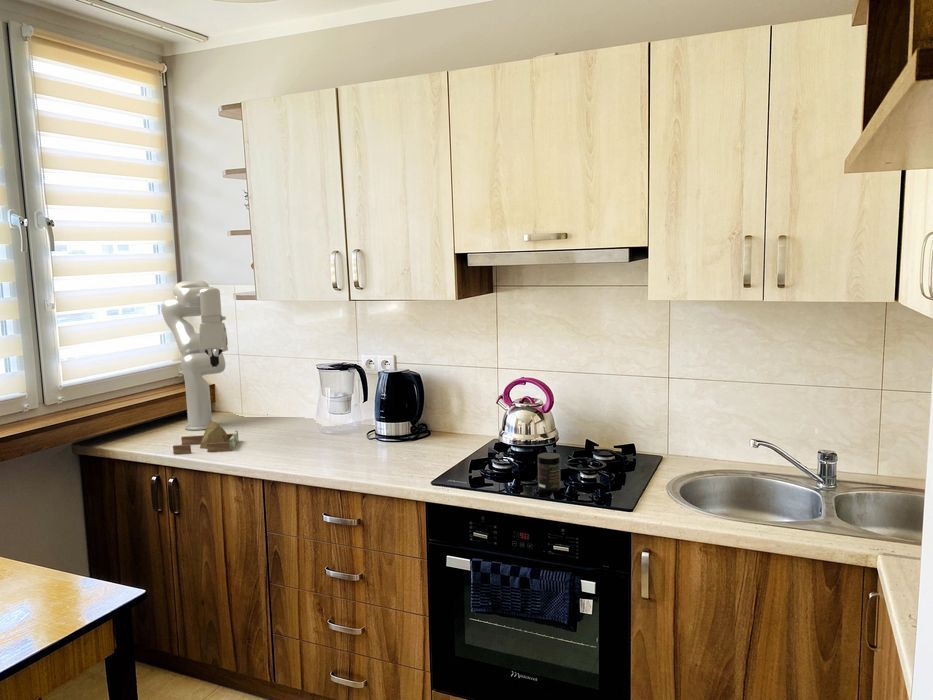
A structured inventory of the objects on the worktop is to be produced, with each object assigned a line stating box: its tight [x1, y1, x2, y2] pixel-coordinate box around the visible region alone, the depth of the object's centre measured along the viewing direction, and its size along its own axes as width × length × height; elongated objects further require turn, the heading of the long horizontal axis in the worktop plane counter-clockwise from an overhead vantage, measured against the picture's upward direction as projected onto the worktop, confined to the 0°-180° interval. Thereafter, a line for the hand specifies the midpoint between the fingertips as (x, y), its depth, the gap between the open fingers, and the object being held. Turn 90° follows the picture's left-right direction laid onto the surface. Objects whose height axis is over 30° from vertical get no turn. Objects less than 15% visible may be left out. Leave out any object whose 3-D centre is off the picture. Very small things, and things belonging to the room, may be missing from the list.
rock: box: [199, 420, 229, 449], centre depth 270 cm, size 11×9×10 cm
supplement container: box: [537, 452, 561, 493], centre depth 213 cm, size 7×7×10 cm
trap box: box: [172, 430, 239, 455], centre depth 273 cm, size 20×21×4 cm
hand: (215, 366), depth 280 cm, fingers closed
